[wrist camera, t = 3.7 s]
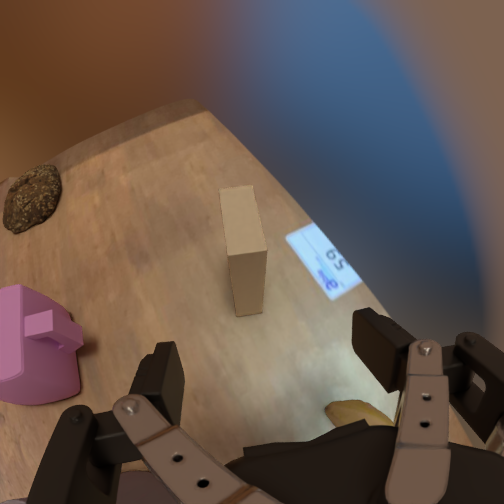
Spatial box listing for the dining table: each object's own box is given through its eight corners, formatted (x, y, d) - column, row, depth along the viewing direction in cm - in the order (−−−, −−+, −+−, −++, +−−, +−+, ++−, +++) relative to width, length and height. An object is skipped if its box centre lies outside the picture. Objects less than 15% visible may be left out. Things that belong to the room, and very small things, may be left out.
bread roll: (64, 165, 39) (53, 144, 35) (62, 213, 33) (46, 189, 29) (11, 195, 36) (-2, 177, 32) (2, 246, 30) (-16, 228, 26)
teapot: (-2, 410, 18) (-63, 392, 9) (-7, 332, 23) (-60, 298, 15) (111, 396, 21) (44, 379, 13) (94, 299, 27) (42, 247, 18)
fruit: (390, 386, 22) (407, 381, 19) (404, 516, 14) (420, 524, 11) (319, 404, 22) (328, 403, 19) (334, 540, 14) (344, 553, 11)
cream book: (252, 262, 29) (252, 184, 20) (262, 313, 26) (267, 250, 17) (228, 265, 29) (218, 188, 20) (236, 317, 26) (227, 255, 17)
